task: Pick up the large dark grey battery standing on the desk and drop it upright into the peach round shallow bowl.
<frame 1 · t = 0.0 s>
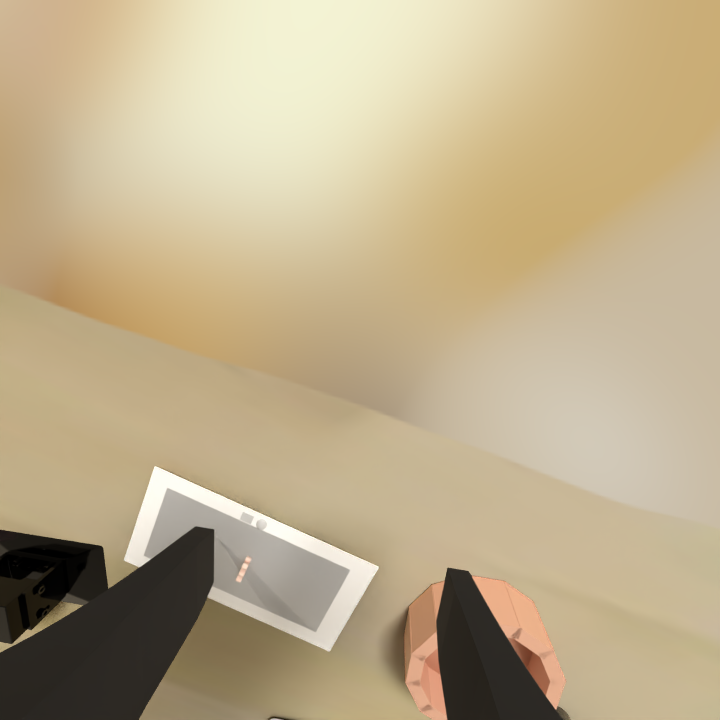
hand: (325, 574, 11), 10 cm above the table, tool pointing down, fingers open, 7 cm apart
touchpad: (254, 548, 24), on the table
peach round shallow bowl: (472, 631, 23), on the table
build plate: (53, 559, 26), on the table
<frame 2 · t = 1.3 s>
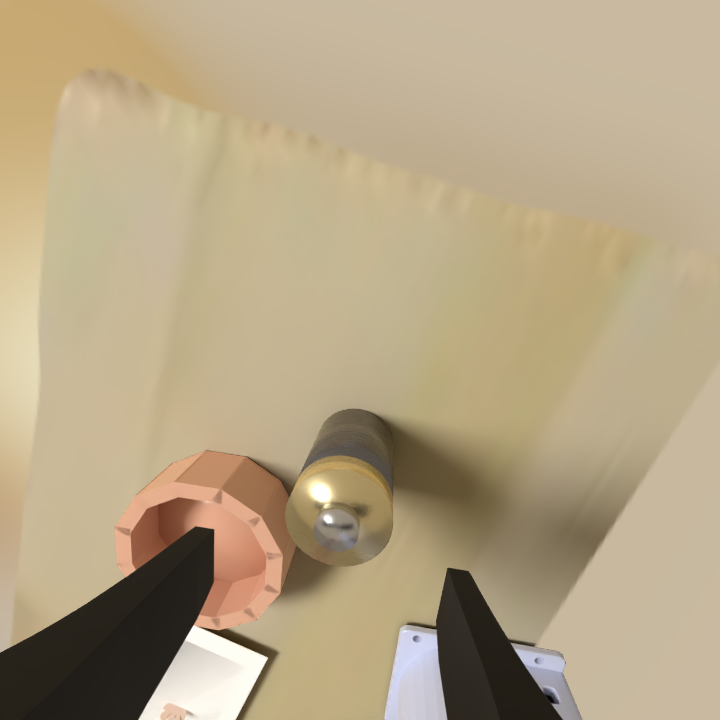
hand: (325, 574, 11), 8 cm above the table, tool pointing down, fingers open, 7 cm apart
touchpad: (187, 686, 26), on the table
peach round shallow bowl: (224, 519, 21), on the table
battery: (355, 444, 19), on the table
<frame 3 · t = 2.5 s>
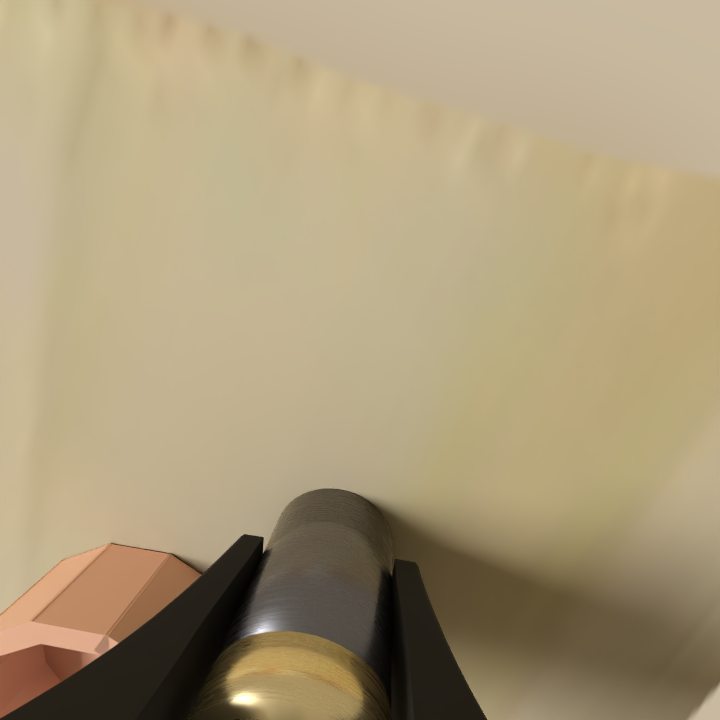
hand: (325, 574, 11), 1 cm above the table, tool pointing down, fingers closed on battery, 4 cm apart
peach round shallow bowl: (144, 638, 14), on the table
battery: (333, 540, 12), on the table, touching gripper
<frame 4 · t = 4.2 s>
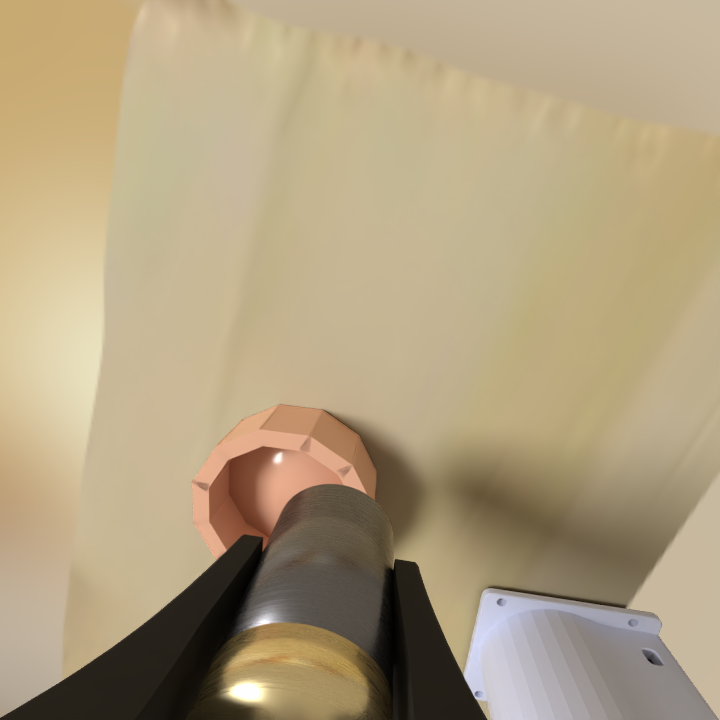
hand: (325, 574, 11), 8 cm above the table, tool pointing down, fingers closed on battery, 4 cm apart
peach round shallow bowl: (297, 479, 20), on the table
battery: (334, 535, 12), point 7 cm above the table, touching gripper
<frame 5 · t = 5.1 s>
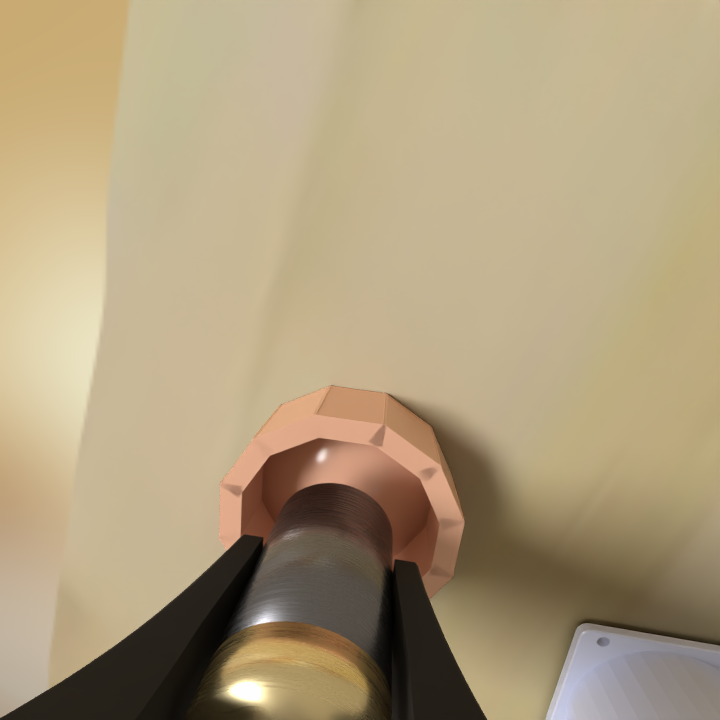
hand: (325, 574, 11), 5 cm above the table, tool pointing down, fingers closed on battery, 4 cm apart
peach round shallow bowl: (347, 482, 16), on the table
battery: (334, 534, 12), point 3 cm above the table, touching gripper
when the fingers open (4 cm above the table, at t = 5.7 s): battery drops 1 cm, resting on peach round shallow bowl.
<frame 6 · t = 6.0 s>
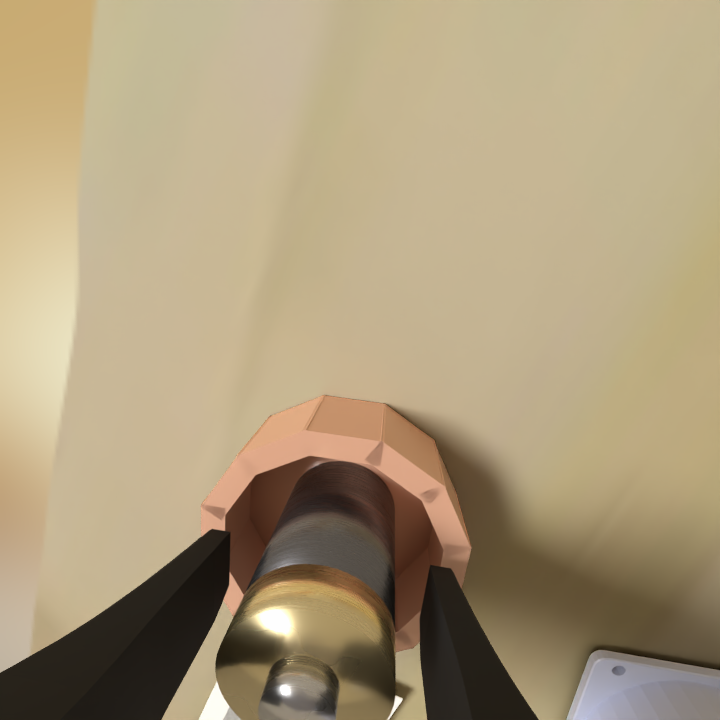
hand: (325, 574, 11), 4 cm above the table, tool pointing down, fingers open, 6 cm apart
peach round shallow bowl: (342, 499, 14), on the table
battery: (342, 508, 14), point 1 cm above the table, touching peach round shallow bowl
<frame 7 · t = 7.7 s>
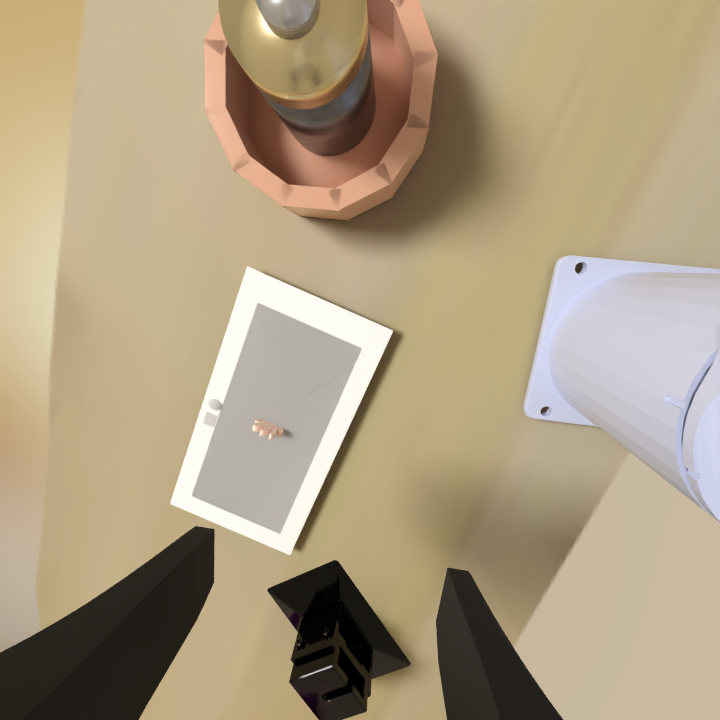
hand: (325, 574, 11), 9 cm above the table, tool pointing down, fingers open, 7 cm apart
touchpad: (278, 416, 21), on the table
peach round shallow bowl: (330, 116, 16), on the table
battery: (329, 104, 15), point 1 cm above the table, touching peach round shallow bowl
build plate: (340, 616, 24), on the table
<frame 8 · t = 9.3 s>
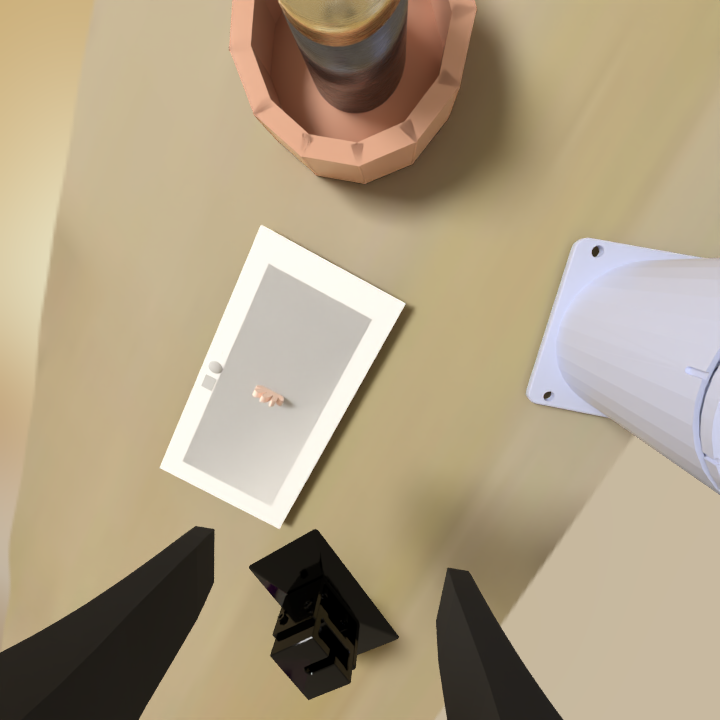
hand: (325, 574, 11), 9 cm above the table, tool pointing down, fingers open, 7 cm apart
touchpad: (278, 385, 20), on the table
peach round shallow bowl: (356, 73, 16), on the table
battery: (357, 58, 15), point 1 cm above the table, touching peach round shallow bowl
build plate: (326, 592, 24), on the table
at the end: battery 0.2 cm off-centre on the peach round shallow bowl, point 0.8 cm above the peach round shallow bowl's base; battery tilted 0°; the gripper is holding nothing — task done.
